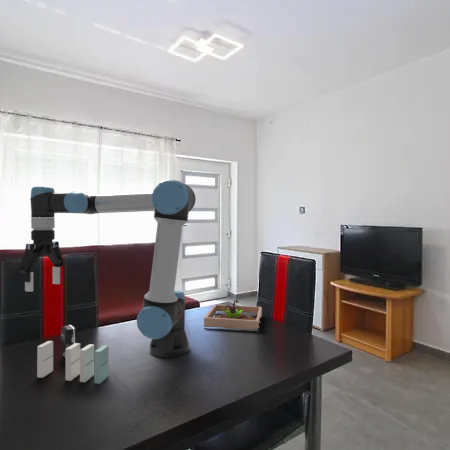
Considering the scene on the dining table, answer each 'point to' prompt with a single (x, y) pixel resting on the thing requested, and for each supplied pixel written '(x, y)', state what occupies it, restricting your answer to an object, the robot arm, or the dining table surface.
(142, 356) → the dining table surface
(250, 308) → the planter corral
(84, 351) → the domino
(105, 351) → the domino
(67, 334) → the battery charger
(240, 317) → the plant
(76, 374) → the domino
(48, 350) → the end domino
